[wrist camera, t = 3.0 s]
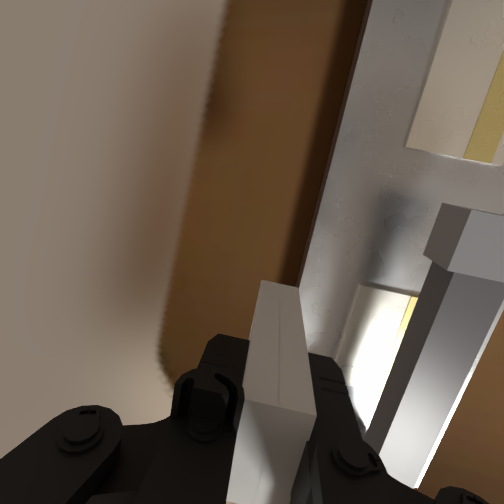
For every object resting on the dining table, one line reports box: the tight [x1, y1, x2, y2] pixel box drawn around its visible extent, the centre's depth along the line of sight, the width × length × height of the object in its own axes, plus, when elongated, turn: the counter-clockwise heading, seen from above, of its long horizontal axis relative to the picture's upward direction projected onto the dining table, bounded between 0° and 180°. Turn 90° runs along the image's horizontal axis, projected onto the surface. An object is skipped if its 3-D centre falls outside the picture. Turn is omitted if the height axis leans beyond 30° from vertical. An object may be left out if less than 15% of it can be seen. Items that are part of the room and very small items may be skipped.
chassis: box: [295, 0, 504, 488], centre depth 17 cm, size 34×12×6 cm, turn 169°
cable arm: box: [363, 203, 504, 489], centre depth 15 cm, size 19×4×2 cm, turn 169°
